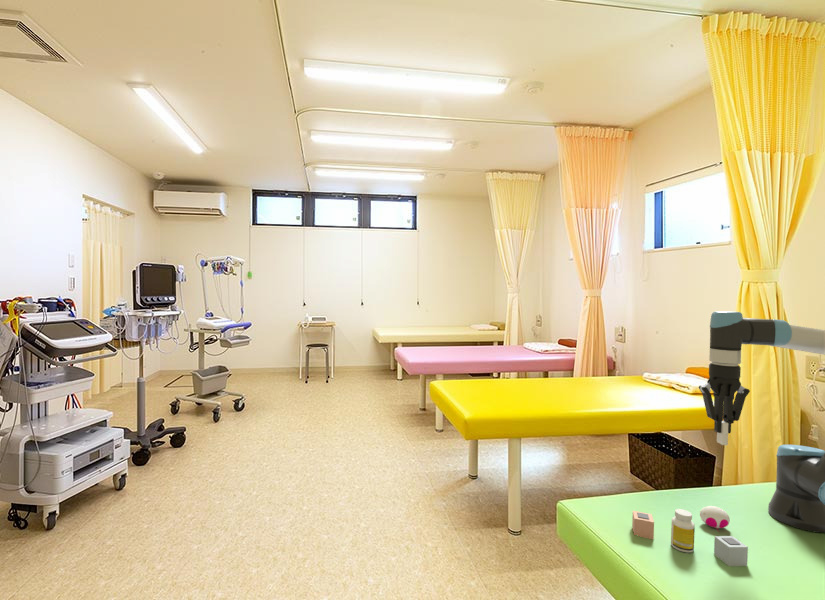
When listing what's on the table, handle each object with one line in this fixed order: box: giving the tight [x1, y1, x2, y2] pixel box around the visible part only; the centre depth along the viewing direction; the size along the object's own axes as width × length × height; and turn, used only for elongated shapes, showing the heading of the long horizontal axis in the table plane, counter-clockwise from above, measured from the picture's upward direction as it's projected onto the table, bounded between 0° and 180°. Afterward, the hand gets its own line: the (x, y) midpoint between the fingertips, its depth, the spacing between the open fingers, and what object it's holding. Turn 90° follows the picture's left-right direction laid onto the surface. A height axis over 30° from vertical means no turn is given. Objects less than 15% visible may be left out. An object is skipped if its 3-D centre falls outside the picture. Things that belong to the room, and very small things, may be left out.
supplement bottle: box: [670, 508, 696, 553], centre depth 118 cm, size 5×5×10 cm
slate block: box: [713, 535, 749, 567], centre depth 113 cm, size 5×5×5 cm
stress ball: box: [699, 505, 731, 533], centre depth 129 cm, size 8×8×7 cm
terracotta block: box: [631, 510, 655, 540], centre depth 125 cm, size 5×5×5 cm
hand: (722, 443), depth 126 cm, fingers closed
